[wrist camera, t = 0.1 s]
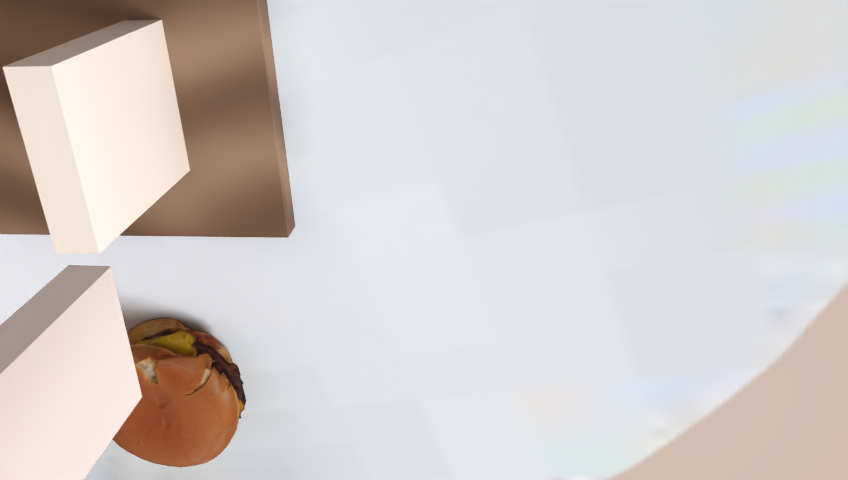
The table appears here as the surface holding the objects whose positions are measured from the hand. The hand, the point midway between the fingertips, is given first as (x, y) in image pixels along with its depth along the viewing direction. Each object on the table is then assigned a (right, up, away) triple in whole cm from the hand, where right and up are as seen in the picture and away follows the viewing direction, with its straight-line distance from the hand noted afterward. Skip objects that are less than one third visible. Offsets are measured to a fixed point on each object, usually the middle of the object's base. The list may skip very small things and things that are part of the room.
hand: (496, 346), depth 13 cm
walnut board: (-18, +10, +29) cm, 35 cm away
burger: (-17, -7, +37) cm, 42 cm away
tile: (-15, +9, +27) cm, 32 cm away
